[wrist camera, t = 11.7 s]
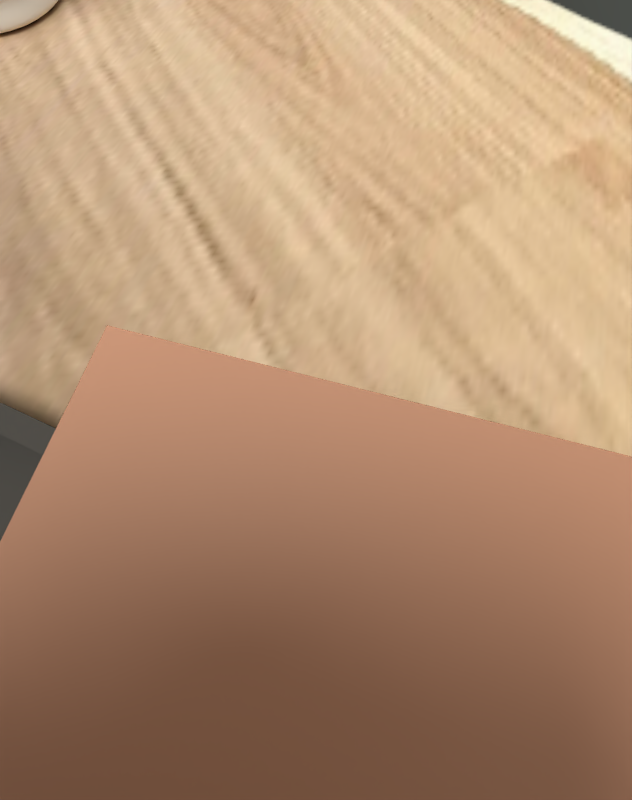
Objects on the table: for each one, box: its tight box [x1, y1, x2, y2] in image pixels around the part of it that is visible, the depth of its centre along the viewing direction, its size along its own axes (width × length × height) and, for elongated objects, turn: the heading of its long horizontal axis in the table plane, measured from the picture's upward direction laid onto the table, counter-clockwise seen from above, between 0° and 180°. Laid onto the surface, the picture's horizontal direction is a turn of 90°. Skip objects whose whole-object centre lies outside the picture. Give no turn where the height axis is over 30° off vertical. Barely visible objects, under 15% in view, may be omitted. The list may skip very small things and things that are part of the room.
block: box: [0, 325, 632, 800], centre depth 9 cm, size 5×5×12 cm
